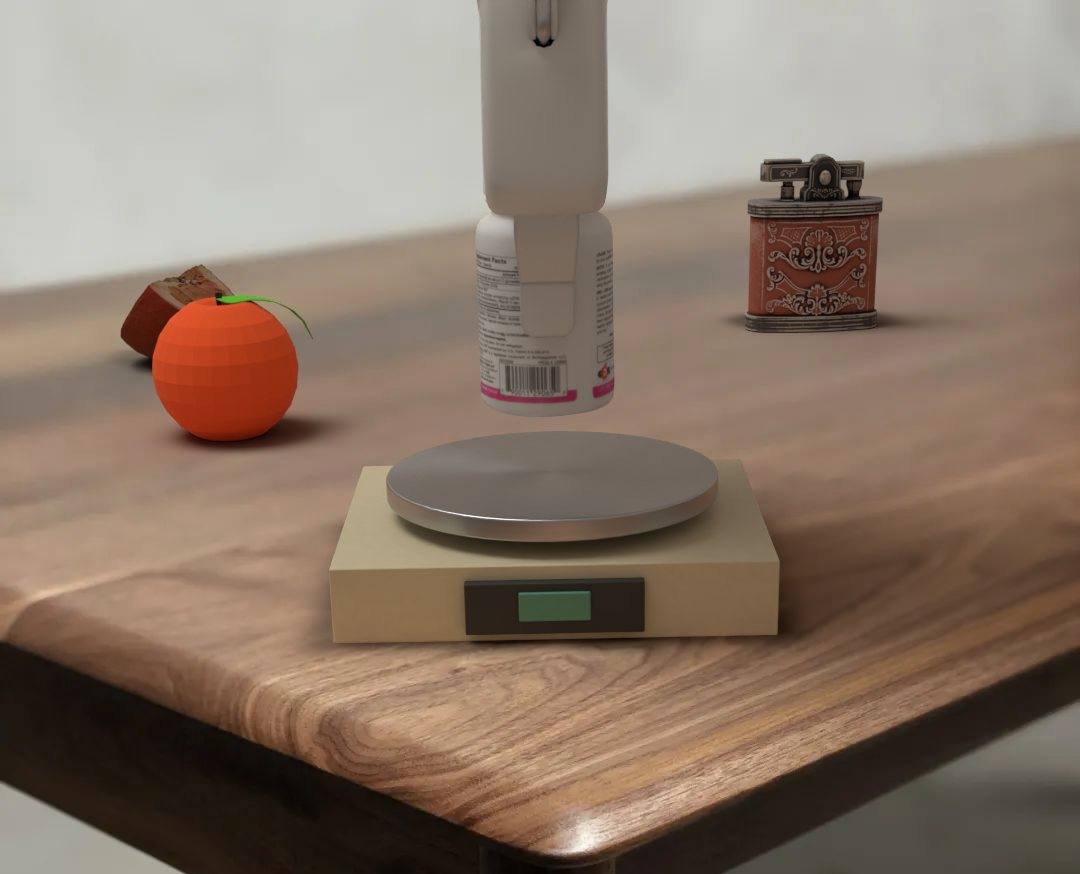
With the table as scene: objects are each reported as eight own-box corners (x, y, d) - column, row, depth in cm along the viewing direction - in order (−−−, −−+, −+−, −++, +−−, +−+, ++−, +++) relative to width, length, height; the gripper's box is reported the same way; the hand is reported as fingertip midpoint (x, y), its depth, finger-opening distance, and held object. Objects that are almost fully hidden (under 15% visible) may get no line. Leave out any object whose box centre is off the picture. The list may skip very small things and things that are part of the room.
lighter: (869, 318, 114) (877, 150, 110) (882, 329, 111) (891, 156, 107) (740, 322, 114) (744, 154, 110) (749, 333, 111) (753, 160, 107)
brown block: (162, 343, 112) (153, 259, 110) (267, 346, 110) (260, 261, 108) (103, 373, 104) (93, 284, 102) (216, 376, 103) (207, 286, 101)
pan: (704, 447, 72) (704, 427, 72) (733, 539, 61) (734, 516, 61) (398, 453, 72) (397, 433, 72) (373, 546, 61) (372, 523, 61)
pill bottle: (560, 381, 69) (557, 146, 65) (641, 404, 65) (642, 156, 62) (454, 401, 66) (445, 157, 63) (532, 426, 62) (527, 169, 59)
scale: (738, 530, 74) (740, 458, 73) (779, 650, 62) (781, 565, 61) (367, 538, 74) (362, 465, 73) (332, 659, 62) (326, 574, 61)
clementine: (293, 414, 94) (283, 273, 91) (346, 443, 88) (336, 293, 86) (141, 435, 91) (125, 289, 88) (185, 467, 85) (170, 311, 82)
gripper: (658, -133, 49) (655, 379, 55) (625, -114, 68) (625, 266, 74) (423, -129, 49) (442, 382, 55) (455, -110, 68) (467, 269, 74)
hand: (547, 315), depth 64 cm, fingers closed on pill bottle, 5 cm apart
